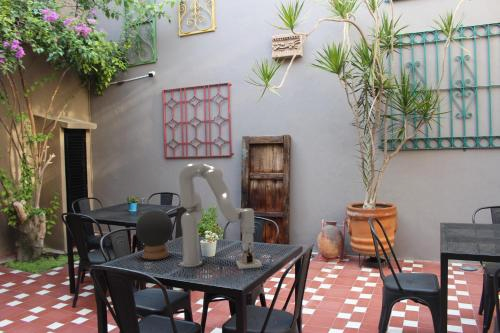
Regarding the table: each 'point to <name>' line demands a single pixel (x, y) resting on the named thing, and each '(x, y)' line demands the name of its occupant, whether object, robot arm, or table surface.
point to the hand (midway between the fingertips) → (248, 260)
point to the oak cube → (246, 256)
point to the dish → (248, 264)
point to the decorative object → (154, 234)
